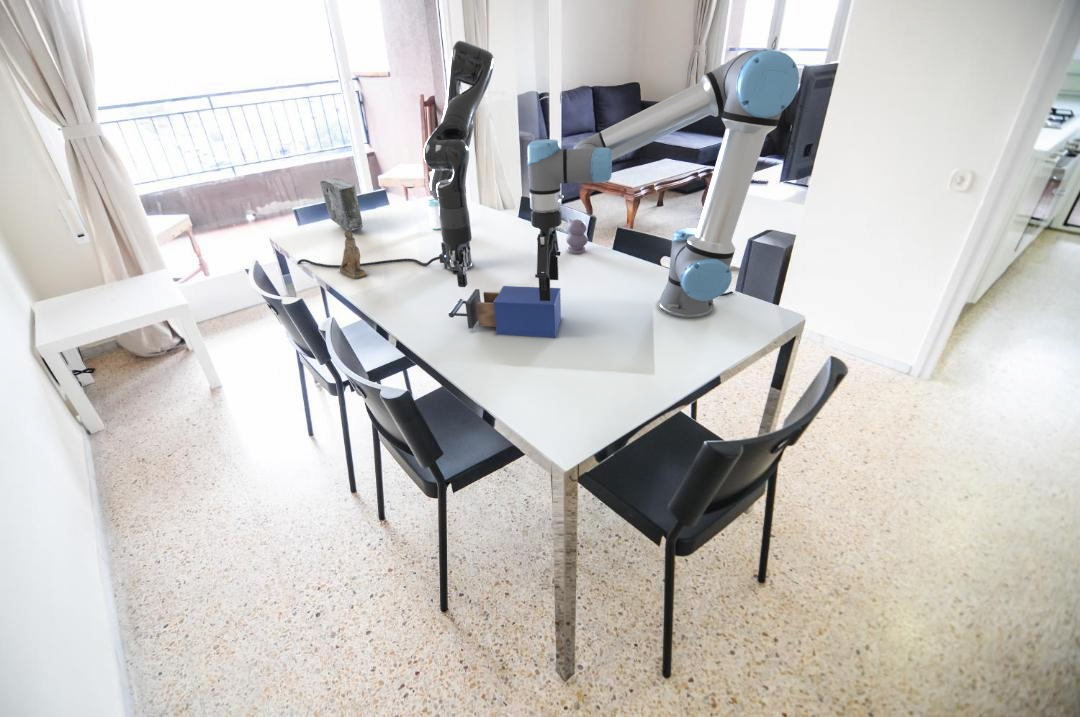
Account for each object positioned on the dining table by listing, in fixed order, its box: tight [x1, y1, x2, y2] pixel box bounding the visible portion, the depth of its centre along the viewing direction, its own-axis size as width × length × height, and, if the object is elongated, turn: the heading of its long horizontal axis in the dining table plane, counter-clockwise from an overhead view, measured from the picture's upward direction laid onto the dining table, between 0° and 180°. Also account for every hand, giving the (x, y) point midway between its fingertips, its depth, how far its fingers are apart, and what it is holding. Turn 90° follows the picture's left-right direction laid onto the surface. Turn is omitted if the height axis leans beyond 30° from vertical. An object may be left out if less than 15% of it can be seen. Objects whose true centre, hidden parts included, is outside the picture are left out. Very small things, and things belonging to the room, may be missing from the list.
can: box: [426, 198, 441, 230], centre depth 220 cm, size 7×7×12 cm
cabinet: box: [494, 285, 562, 339], centre depth 137 cm, size 16×11×10 cm, turn 80°
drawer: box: [448, 288, 499, 329], centre depth 139 cm, size 20×10×8 cm, turn 80°
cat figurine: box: [565, 218, 589, 255], centre depth 187 cm, size 9×8×12 cm
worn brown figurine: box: [339, 230, 367, 280], centre depth 174 cm, size 12×6×18 cm, turn 43°
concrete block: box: [319, 177, 364, 232], centre depth 222 cm, size 27×9×20 cm, turn 36°
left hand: (463, 285), depth 136 cm, fingers closed
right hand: (549, 289), depth 132 cm, fingers open, 13 cm apart
